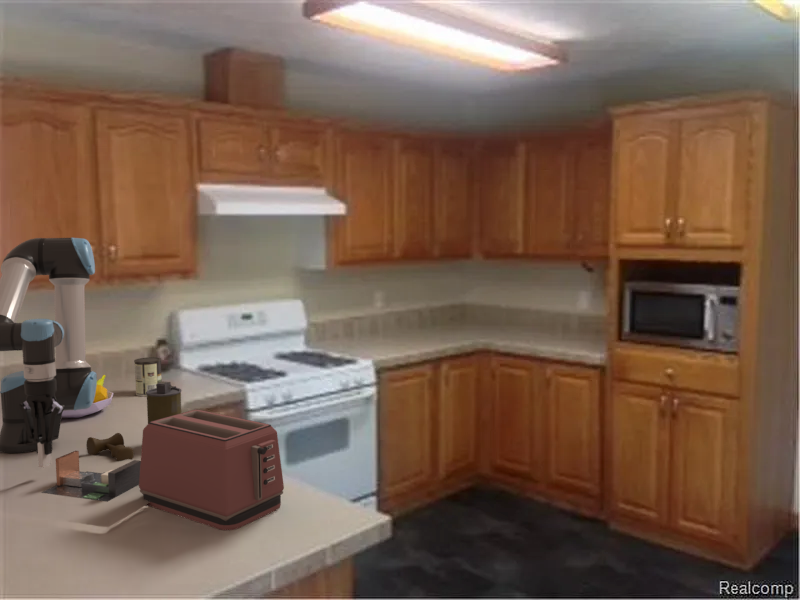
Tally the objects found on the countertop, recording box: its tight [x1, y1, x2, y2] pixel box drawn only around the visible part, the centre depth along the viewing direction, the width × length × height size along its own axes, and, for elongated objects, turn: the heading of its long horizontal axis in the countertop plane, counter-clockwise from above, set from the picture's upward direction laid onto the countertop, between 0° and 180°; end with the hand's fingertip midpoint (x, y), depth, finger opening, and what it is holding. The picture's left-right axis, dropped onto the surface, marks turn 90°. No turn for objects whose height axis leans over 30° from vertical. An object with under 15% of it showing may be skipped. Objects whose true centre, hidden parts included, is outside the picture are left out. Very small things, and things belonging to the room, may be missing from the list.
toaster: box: [138, 408, 285, 531], centre depth 172 cm, size 19×34×20 cm, turn 57°
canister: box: [146, 381, 183, 425], centre depth 219 cm, size 11×10×20 cm
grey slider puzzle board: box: [41, 459, 141, 503], centre depth 182 cm, size 20×16×7 cm
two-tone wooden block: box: [55, 450, 94, 487], centre depth 184 cm, size 6×7×7 cm
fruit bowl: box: [61, 374, 114, 419], centre depth 258 cm, size 28×27×11 cm
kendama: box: [86, 432, 135, 462], centre depth 210 cm, size 6×10×20 cm
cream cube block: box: [101, 469, 114, 484], centre depth 181 cm, size 4×4×4 cm
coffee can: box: [134, 356, 163, 397], centre depth 287 cm, size 10×10×14 cm
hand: (45, 465), depth 187 cm, fingers closed
